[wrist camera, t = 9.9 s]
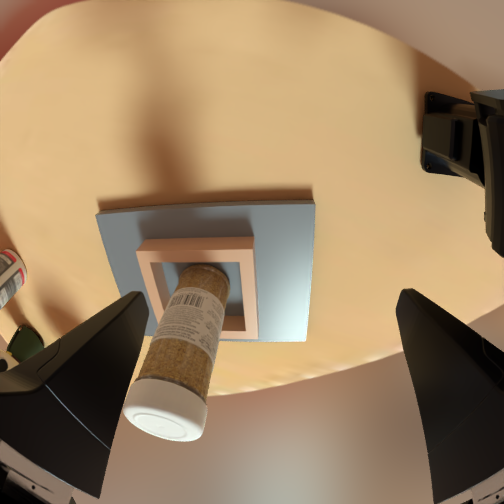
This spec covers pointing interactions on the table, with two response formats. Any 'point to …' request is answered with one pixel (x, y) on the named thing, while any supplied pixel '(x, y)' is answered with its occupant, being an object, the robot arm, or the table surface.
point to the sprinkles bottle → (181, 358)
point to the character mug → (20, 348)
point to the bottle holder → (220, 260)
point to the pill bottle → (10, 275)
